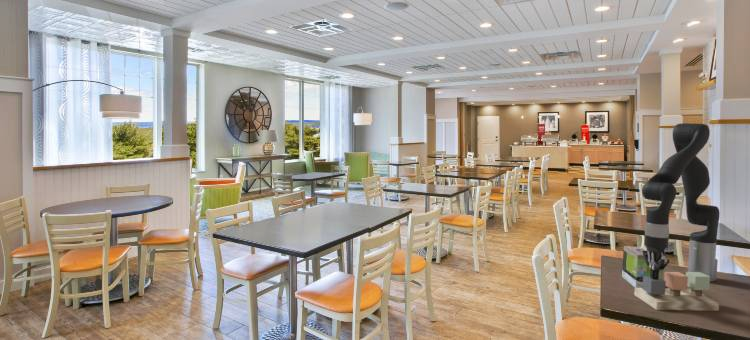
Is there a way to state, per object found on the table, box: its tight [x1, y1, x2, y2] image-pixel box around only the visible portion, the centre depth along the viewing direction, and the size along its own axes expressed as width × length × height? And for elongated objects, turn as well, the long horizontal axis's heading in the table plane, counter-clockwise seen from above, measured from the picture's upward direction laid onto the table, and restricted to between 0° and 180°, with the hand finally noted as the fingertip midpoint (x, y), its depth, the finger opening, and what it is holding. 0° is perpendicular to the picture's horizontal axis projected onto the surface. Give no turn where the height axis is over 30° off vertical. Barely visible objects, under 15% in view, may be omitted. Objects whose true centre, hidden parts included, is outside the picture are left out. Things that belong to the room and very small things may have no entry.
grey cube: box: [643, 276, 666, 294], centre depth 157 cm, size 5×5×5 cm
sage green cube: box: [685, 271, 711, 291], centre depth 156 cm, size 5×5×5 cm
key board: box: [634, 287, 720, 312], centre depth 157 cm, size 22×14×7 cm, turn 87°
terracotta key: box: [663, 271, 688, 290], centre depth 156 cm, size 5×5×5 cm
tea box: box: [621, 245, 663, 289], centre depth 176 cm, size 15×10×15 cm, turn 168°
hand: (654, 278), depth 157 cm, fingers closed
